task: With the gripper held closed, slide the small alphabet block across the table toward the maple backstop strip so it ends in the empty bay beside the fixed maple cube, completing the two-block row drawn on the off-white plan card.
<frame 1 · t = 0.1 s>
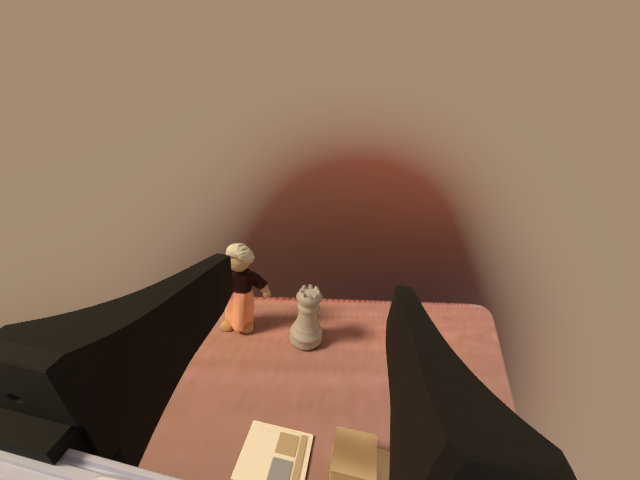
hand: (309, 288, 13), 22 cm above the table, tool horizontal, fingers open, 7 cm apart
plan card: (275, 456, 26), on the table
maple cube: (349, 475, 25), on the table
grandmother figurine: (241, 327, 40), on the table
rook chess piece: (305, 340, 39), on the table
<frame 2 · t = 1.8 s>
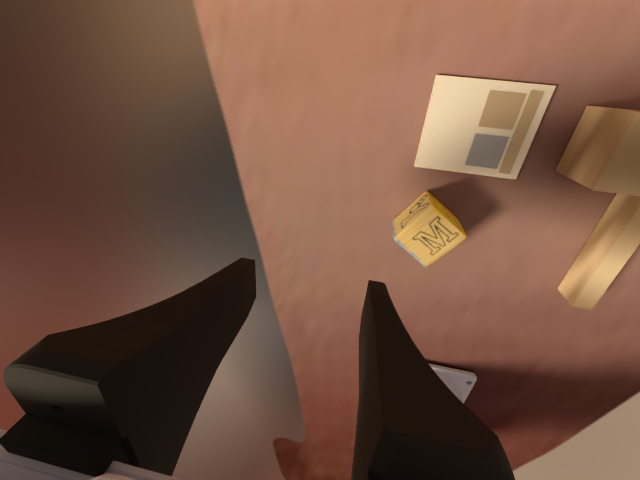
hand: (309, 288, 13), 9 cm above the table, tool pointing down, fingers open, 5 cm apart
plan card: (477, 129, 17), on the table
maple cube: (604, 143, 16), on the table
alphabet block: (423, 217, 20), on the table
backstop: (614, 216, 18), on the table
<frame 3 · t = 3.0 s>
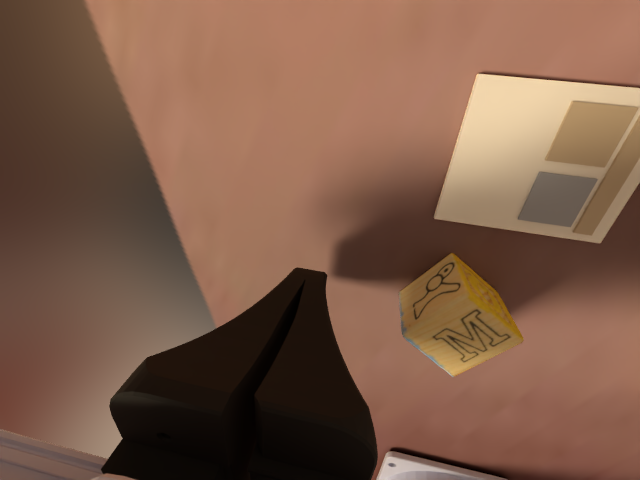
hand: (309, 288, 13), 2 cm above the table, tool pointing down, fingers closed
plan card: (542, 164, 10), on the table
alphabet block: (444, 287, 14), on the table
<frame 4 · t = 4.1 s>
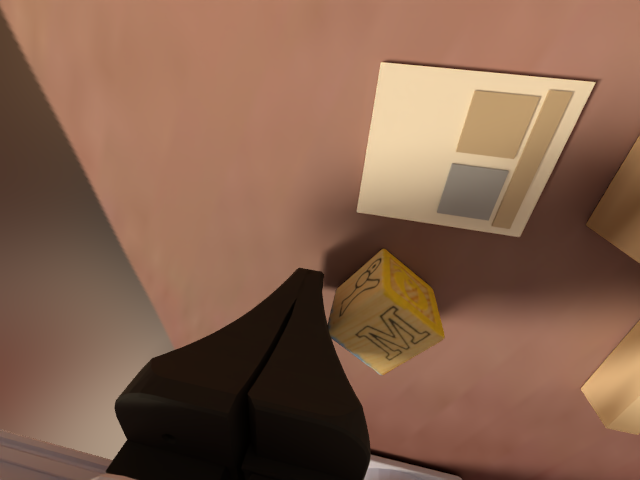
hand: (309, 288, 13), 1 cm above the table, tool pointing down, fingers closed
plan card: (455, 156, 10), on the table
alphabet block: (382, 284, 13), on the table, touching gripper
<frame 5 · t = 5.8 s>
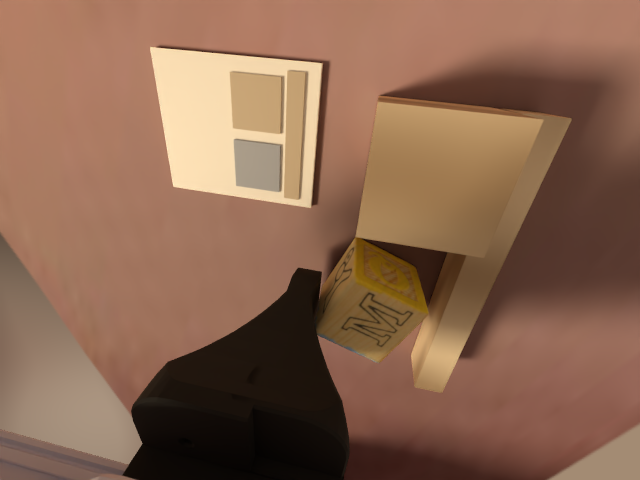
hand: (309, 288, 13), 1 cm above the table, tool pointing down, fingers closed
plan card: (239, 133, 11), on the table
maple cube: (419, 155, 10), on the table
alphabet block: (366, 272, 13), on the table, touching gripper
backstop: (459, 262, 12), on the table
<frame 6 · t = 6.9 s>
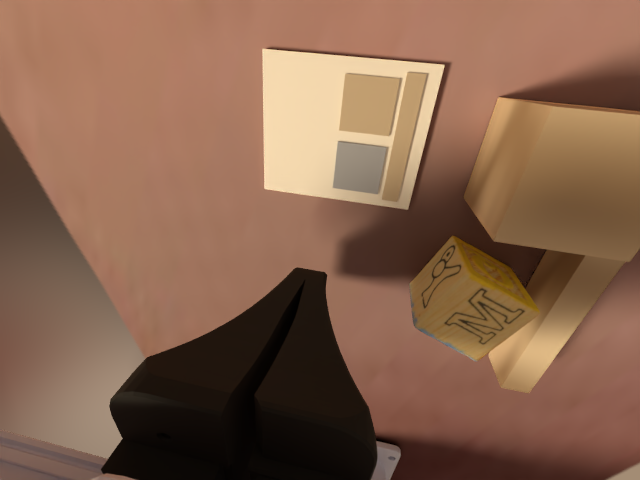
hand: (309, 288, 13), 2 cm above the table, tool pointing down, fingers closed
plan card: (341, 135, 11), on the table
maple cube: (531, 157, 10), on the table
alphabet block: (455, 271, 13), on the table
backstop: (555, 264, 12), on the table
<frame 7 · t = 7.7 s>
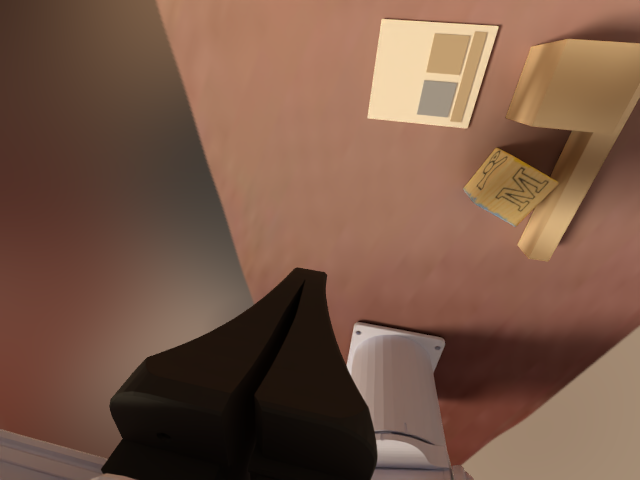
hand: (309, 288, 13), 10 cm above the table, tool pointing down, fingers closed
plan card: (426, 76, 17), on the table
maple cube: (551, 87, 16), on the table
alphabet block: (496, 177, 19), on the table
backstop: (566, 165, 18), on the table
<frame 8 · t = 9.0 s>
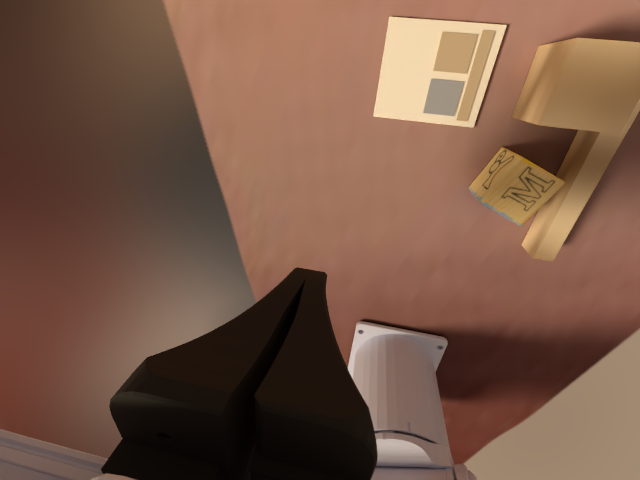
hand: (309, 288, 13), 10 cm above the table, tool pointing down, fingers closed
plan card: (433, 75, 17), on the table
maple cube: (558, 86, 16), on the table
alphabet block: (501, 177, 19), on the table
backstop: (572, 165, 18), on the table
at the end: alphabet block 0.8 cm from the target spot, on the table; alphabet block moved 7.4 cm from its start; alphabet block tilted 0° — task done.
